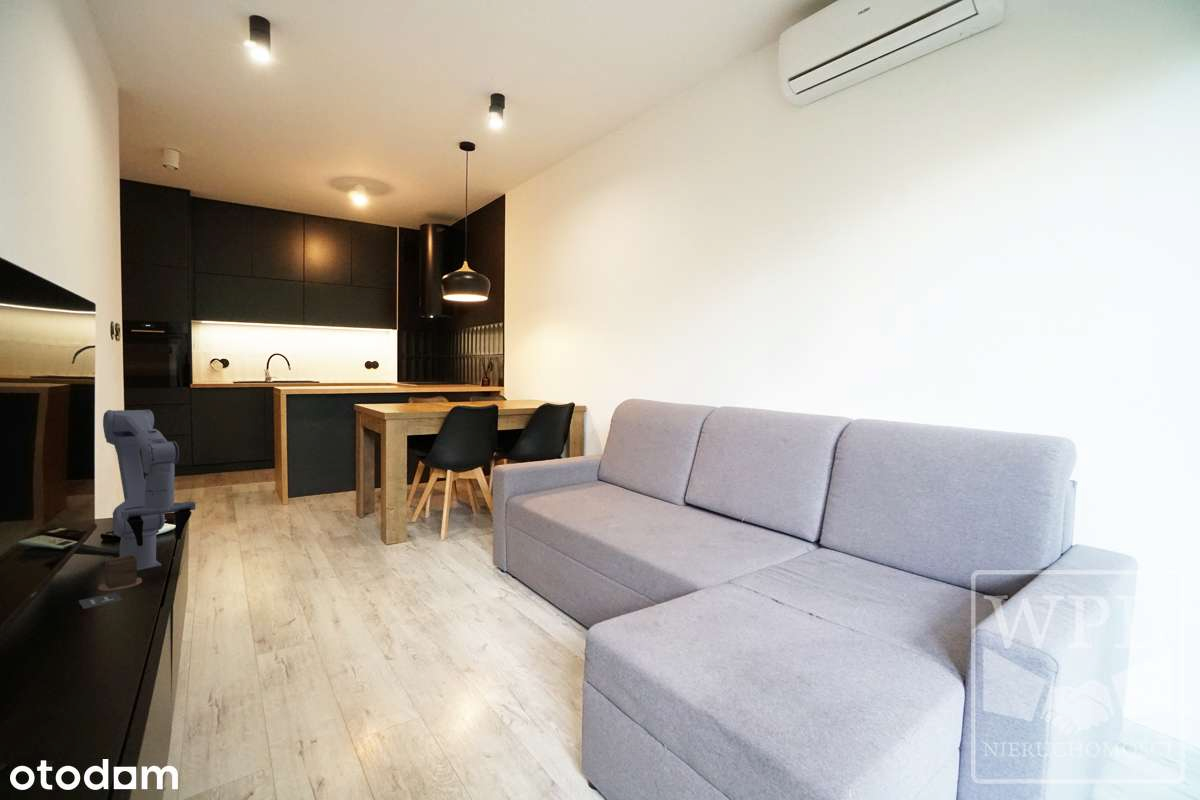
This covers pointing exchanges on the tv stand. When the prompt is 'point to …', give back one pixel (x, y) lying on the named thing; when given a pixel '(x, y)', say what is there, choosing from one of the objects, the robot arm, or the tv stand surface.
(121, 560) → the walnut block
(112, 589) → the coaster
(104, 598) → the board
